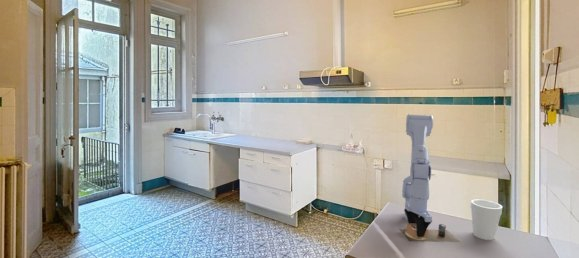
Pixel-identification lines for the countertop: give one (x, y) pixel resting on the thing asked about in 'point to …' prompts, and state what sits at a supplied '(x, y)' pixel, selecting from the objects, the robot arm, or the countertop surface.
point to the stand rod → (441, 230)
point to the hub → (411, 236)
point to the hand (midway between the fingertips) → (416, 232)
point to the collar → (414, 231)
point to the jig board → (435, 236)
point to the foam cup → (485, 218)
